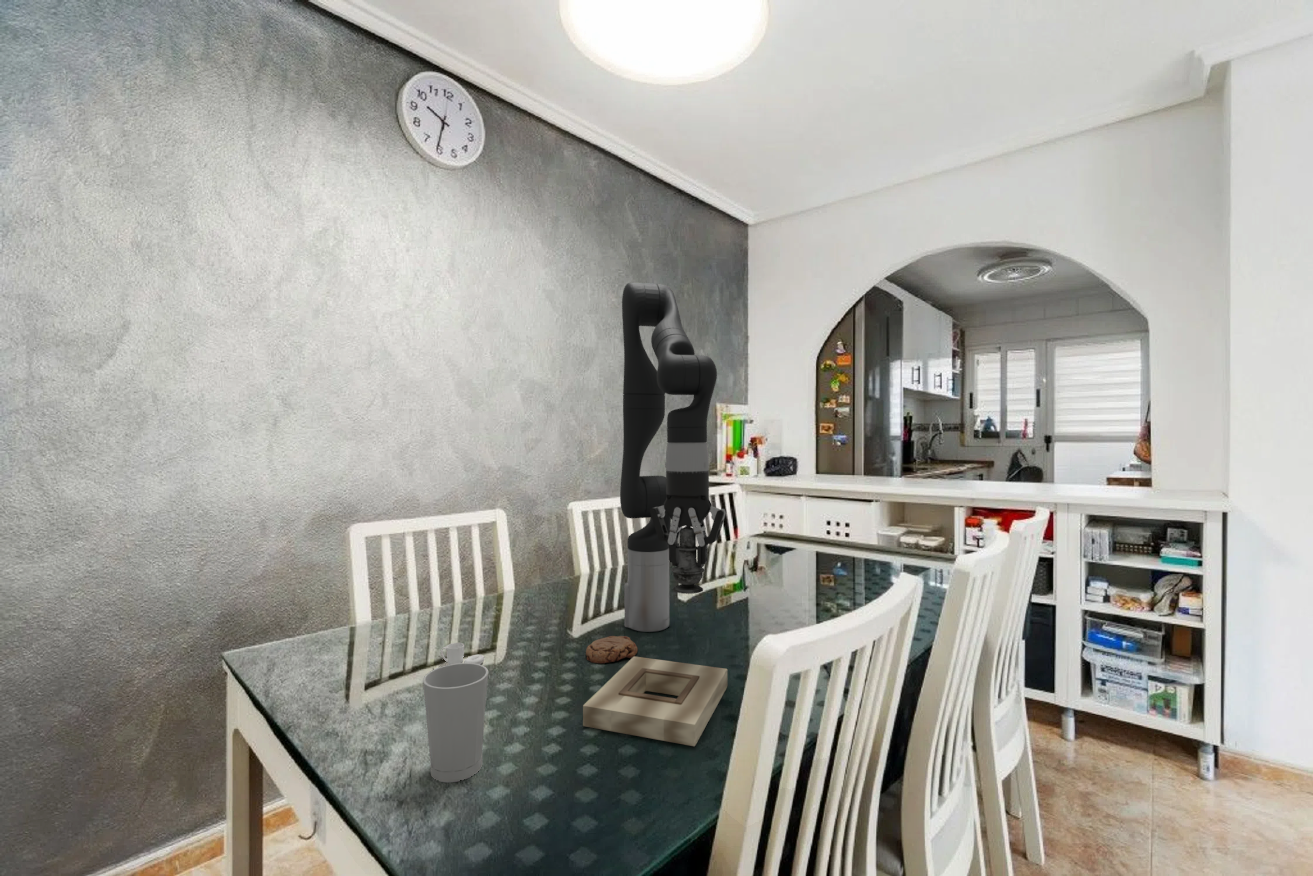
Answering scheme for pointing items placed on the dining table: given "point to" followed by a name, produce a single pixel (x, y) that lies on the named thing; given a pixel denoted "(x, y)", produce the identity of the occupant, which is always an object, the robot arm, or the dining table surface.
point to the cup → (455, 719)
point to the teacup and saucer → (459, 655)
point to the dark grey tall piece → (687, 564)
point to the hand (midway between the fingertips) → (688, 565)
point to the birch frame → (657, 700)
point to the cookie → (611, 649)
